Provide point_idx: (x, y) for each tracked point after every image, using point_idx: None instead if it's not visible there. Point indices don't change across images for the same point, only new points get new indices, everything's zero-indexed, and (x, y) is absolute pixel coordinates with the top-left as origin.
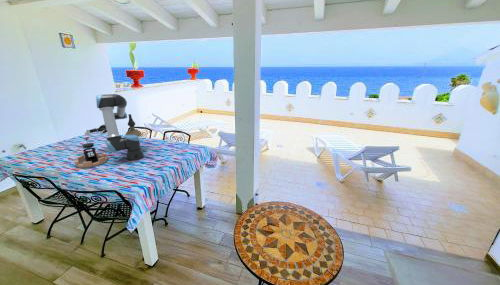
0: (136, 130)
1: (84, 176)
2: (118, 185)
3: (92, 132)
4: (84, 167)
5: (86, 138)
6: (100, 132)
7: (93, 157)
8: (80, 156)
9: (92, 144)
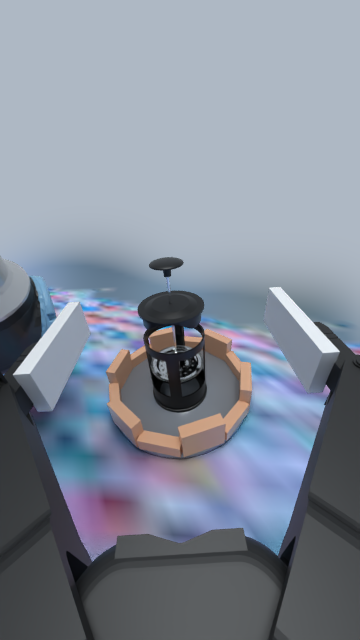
0: None
1: None
2: (55, 295)
3: (316, 437)
4: None
5: (160, 259)
6: (77, 307)
7: (185, 401)
8: (244, 374)
9: (142, 307)
